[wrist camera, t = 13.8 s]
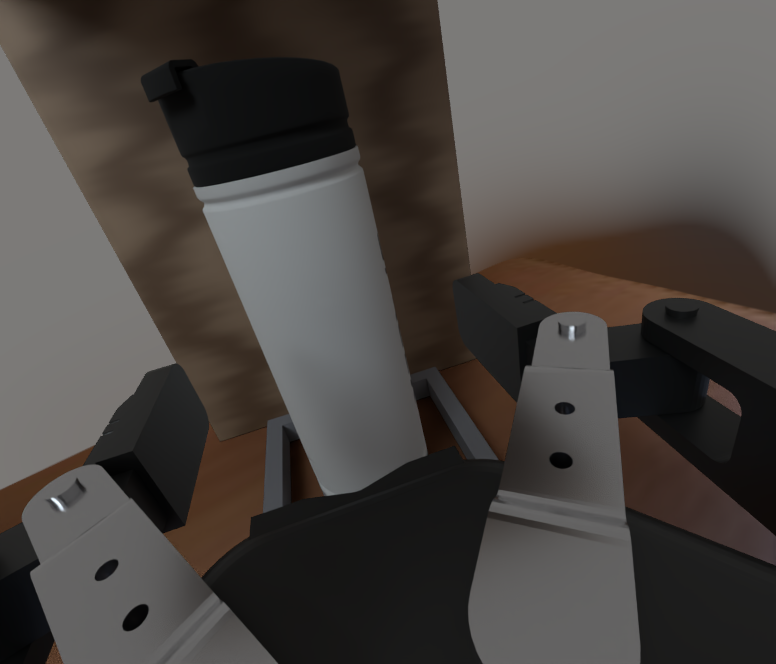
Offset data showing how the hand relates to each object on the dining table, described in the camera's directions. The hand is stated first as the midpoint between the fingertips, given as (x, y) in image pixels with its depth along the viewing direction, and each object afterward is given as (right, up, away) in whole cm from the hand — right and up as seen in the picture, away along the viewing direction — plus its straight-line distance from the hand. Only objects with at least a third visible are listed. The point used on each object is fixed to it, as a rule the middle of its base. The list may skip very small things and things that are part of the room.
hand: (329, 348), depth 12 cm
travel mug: (+1, -8, +11) cm, 14 cm away
